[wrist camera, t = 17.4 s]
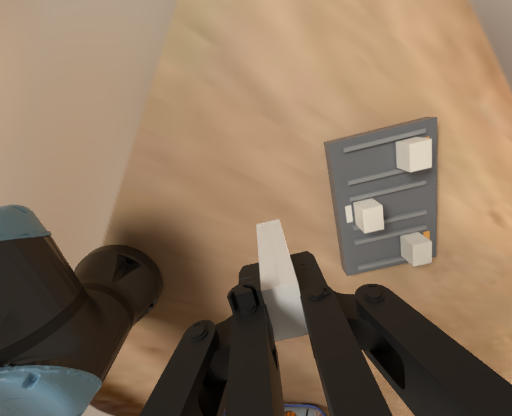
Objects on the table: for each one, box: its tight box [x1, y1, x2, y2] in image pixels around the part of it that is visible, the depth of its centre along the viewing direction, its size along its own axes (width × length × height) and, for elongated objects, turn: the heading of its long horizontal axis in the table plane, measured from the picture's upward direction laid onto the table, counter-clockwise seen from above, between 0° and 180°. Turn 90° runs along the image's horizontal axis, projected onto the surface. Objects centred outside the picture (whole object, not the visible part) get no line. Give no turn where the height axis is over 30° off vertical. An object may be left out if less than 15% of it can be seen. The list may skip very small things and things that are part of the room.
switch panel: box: [324, 117, 437, 276], centre depth 43 cm, size 16×24×3 cm, turn 14°
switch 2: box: [400, 232, 432, 267], centre depth 42 cm, size 3×4×4 cm
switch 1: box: [396, 137, 432, 172], centre depth 37 cm, size 3×4×4 cm
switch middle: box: [353, 198, 384, 233], centre depth 40 cm, size 3×4×4 cm
